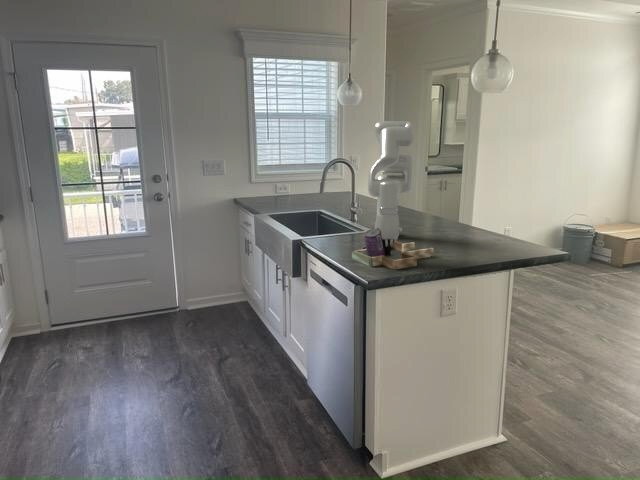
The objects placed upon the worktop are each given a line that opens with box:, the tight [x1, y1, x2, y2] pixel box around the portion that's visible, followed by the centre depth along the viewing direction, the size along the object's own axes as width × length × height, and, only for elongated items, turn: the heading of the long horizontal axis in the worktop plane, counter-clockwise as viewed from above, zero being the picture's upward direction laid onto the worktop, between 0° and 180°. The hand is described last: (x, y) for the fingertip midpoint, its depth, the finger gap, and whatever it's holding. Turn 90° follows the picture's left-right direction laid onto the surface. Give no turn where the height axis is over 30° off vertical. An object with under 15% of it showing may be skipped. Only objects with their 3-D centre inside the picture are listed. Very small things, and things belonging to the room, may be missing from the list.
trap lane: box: [351, 240, 435, 270], centre depth 204 cm, size 33×29×4 cm
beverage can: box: [363, 228, 386, 257], centre depth 197 cm, size 7×7×12 cm
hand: (386, 254), depth 200 cm, fingers closed
